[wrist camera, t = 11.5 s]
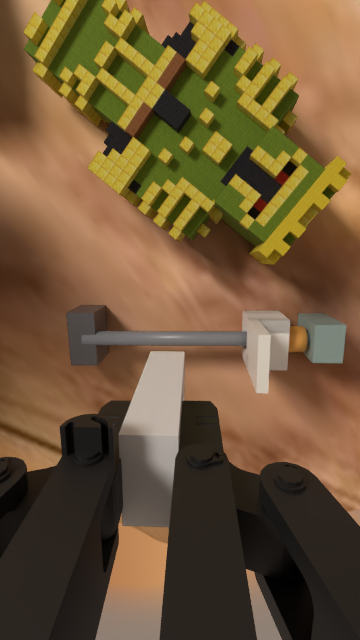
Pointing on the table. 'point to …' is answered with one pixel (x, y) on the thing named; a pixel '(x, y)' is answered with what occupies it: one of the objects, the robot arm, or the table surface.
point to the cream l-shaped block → (265, 345)
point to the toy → (186, 121)
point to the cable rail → (197, 337)
